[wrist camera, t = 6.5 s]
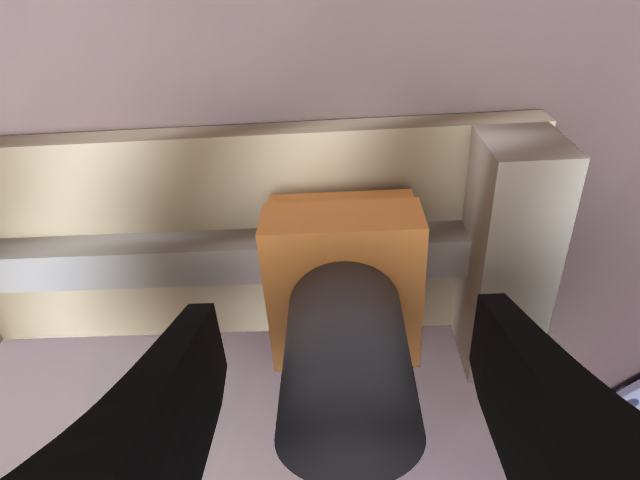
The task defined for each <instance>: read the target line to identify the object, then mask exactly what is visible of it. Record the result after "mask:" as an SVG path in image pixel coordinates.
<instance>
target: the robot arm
mask: <svg viewBox="0 0 640 480" xmlns="http://www.w3.org/2000/svg"><path fill="white" fill-rule="evenodd" d="M469 361H470V365H471V370H472V375H473V379H474V384H475V388H476V392H477V396H478V400H479V403H480V406H481V409H482V411H483V414H484V417H485V420H486V423H487V425H488V428H489V431H490V434H491V437H492V439H493V442H494V445H495V447H496V450H497V453H498V456H499V458H500V461H501V464H502V467H503V469H504V472H505V475H506V478H507V480H640V379H639V380H637V381H635V382H634V383H632V384H630V385H628V386H626V387H625V388H623V389H621V390H619V391H617V392H614V391H613V390H612V389H610V388H609V387H608V386H607V385H605V384H604V383H603V382H602V381H600V380H599V379H598V378H597V377H596V376H594V375H593V374H592V373H591V372H589V371H588V370H587V369H586V368H584V367H583V366H582V365H581V364H580V363H579V362H578V361H576V360H575V359H574V358H573V357H572V356H571V355H570V354H568V353H567V352H566V351H565V350H564V349H563V348H562V347H561V346H560V345H558V344H557V343H556V342H555V341H554V340H553V339H552V338H551V337H550V336H549V335H548V334H547V333H546V332H544V331H543V330H542V329H541V328H540V327H539V326H538V325H537V324H536V323H535V322H534V321H533V320H532V319H531V318H530V317H529V316H528V315H527V314H526V313H525V312H524V311H523V310H522V309H521V308H520V307H519V306H518V305H517V304H516V303H515V302H514V301H512V300H511V299H510V298H509V297H508V296H507V295H506V294H505V293H493V294H478V297H477V304H476V312H475V319H474V326H473V334H472V341H471V348H470V355H469ZM226 371H227V362H226V358H225V353H224V348H223V343H222V339H221V334H220V329H219V325H218V320H217V315H216V310H215V306H214V303H195V304H188V305H187V306H186V307H185V308H184V309H183V310H182V311H181V312H180V314H179V315H178V316H177V317H176V318H175V319H174V321H173V322H172V323H171V324H170V325H169V326H168V328H167V329H166V330H165V331H164V332H163V333H162V334H161V336H160V337H159V338H158V339H157V340H156V341H155V342H154V344H153V345H152V346H151V347H150V348H149V349H148V350H147V351H146V352H145V354H144V355H143V356H142V357H141V358H140V359H139V360H138V361H137V362H136V363H135V364H134V366H133V367H132V368H131V369H130V370H129V371H128V372H127V373H126V374H125V375H124V376H123V377H122V378H121V379H120V380H119V381H118V382H117V383H116V384H115V385H114V386H113V387H112V388H111V389H110V390H109V391H108V392H107V393H106V394H105V395H104V396H103V397H102V398H101V399H100V400H99V401H98V402H97V403H96V404H94V405H93V406H92V407H91V408H90V409H89V410H88V411H87V412H86V413H85V414H83V415H82V416H81V417H80V418H79V419H78V420H76V421H75V422H74V423H73V424H72V425H71V426H69V427H68V428H67V429H66V430H65V431H63V432H62V433H61V434H60V435H59V436H57V437H56V438H55V439H53V440H52V441H51V442H49V443H48V444H47V445H46V446H44V447H43V448H42V449H40V450H39V451H38V452H36V453H35V454H34V455H32V456H31V457H30V458H28V459H27V460H26V461H24V462H23V463H22V464H20V465H19V466H18V467H16V468H15V469H14V470H12V471H11V472H9V473H8V474H7V475H5V476H4V477H2V478H1V479H0V480H202V476H203V472H204V469H205V465H206V461H207V458H208V454H209V450H210V447H211V443H212V439H213V436H214V432H215V428H216V424H217V421H218V417H219V413H220V409H221V405H222V399H223V392H224V386H225V378H226Z"/></svg>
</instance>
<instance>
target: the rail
mask: <svg viewBox="0 0 640 480" xmlns="http://www.w3.org/2000/svg"><path fill="white" fill-rule="evenodd" d="M555 125H556V120H554V119H553V118H552V117H551V116H550V115H549V114H547V113H546V112H545V111H544V110H543V109H542V110H522V111H501V112H481V113H461V114H440V115H420V116H399V117H379V118H358V119H338V120H317V121H297V122H277V123H256V124H236V125H215V126H195V127H174V128H154V129H133V130H113V131H92V132H72V133H52V134H31V135H11V136H0V343H1V342H2V340H3V339H28V338H60V337H92V336H124V335H157V334H162V333H163V332H164V331H165V330H166V329H167V328H168V326H169V325H170V324H171V323H172V322H173V321H174V319H175V318H176V317H177V316H178V315H179V314H180V312H181V311H182V310H183V309H184V308H185V307H186V306H187V305H188V304H195V303H214V306H215V310H216V315H217V320H218V325H219V329H220V333H221V332H253V331H269V327H268V320H267V313H266V306H265V299H264V293H263V286H262V279H261V272H260V265H259V258H258V251H257V244H256V237H255V235H256V231H257V227H258V223H259V218H260V214H261V210H262V206H263V204H265V203H268V198H269V195H276V194H300V193H323V192H346V191H370V190H393V189H412V191H413V194H414V197H419V199H420V202H421V205H422V208H423V211H424V214H425V218H426V221H427V224H428V227H429V240H428V255H427V270H426V284H425V299H424V314H423V326H447V325H451V328H452V331H453V335H454V338H455V341H456V345H457V348H458V351H459V354H460V358H461V361H462V364H463V368H464V371H465V374H466V377H467V381H468V382H474V379H473V375H472V370H471V365H470V361H469V355H470V348H471V341H472V334H473V326H474V319H475V312H476V304H477V297H478V294H493V293H505V294H506V295H507V296H508V297H509V298H510V299H511V300H512V301H514V302H515V303H516V304H517V305H518V306H519V307H520V308H521V309H522V310H523V311H524V312H525V313H526V314H527V315H528V316H529V317H530V318H531V319H532V320H533V321H534V322H535V323H536V324H537V325H538V326H539V327H540V328H541V329H542V330H543V331H544V332H546V333H547V334H548V331H549V326H550V322H551V318H552V314H553V310H554V306H555V302H556V297H557V293H558V289H559V285H560V281H561V277H562V273H563V269H564V264H565V260H566V256H567V252H568V248H569V244H570V240H571V236H572V231H573V227H574V223H575V219H576V215H577V211H578V207H579V203H580V198H581V194H582V190H583V186H584V182H585V178H586V174H587V169H588V165H589V161H590V158H589V157H588V156H587V155H586V154H585V153H584V152H582V151H581V150H580V149H579V148H578V147H577V146H576V145H575V144H573V143H572V142H571V141H570V140H569V139H568V138H567V137H566V136H564V135H563V134H562V133H561V132H560V131H559V130H558V129H556V128H555Z"/></svg>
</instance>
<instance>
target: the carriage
mask: <svg viewBox="0 0 640 480" xmlns="http://www.w3.org/2000/svg"><path fill="white" fill-rule="evenodd" d="M255 237H256V244H257V251H258V258H259V265H260V272H261V279H262V286H263V293H264V299H265V306H266V313H267V320H268V327H269V334H270V341H271V348H272V355H273V362H274V369H275V371H282V375H281V384H280V394H279V403H278V412H277V421H276V431H275V449H276V453H277V455H278V457H279V459H280V460H281V462H282V463H283V464H284V465H285V466H286V467H287V468H288V469H289V470H290V471H291V472H292V473H294V474H295V475H297V476H299V477H300V478H302V479H304V480H395V479H397V478H399V477H401V476H403V475H404V474H406V473H407V472H409V471H410V470H411V469H412V468H413V467H414V466H415V465H416V464H417V463H418V462H419V460H420V458H421V457H422V455H423V453H424V450H425V446H426V435H425V430H424V425H423V419H422V414H421V409H420V403H419V398H418V393H417V387H416V382H415V377H414V372H413V367H420V358H421V343H422V329H423V314H424V299H425V284H426V270H427V255H428V240H429V227H428V224H427V221H426V218H425V214H424V211H423V208H422V205H421V202H420V199H419V197H414V194H413V191H412V189H393V190H370V191H346V192H323V193H300V194H276V195H269V198H268V203H265V204H263V206H262V210H261V214H260V218H259V223H258V227H257V231H256V235H255Z"/></svg>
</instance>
